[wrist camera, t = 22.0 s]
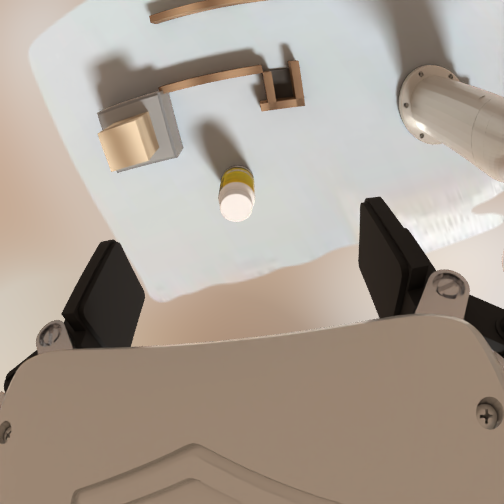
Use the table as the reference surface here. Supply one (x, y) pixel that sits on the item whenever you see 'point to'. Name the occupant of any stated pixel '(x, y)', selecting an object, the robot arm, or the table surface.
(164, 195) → the table surface
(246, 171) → the supplement bottle
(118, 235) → the table surface
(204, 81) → the channel
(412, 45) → the table surface
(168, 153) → the stand
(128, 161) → the block
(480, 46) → the table surface
